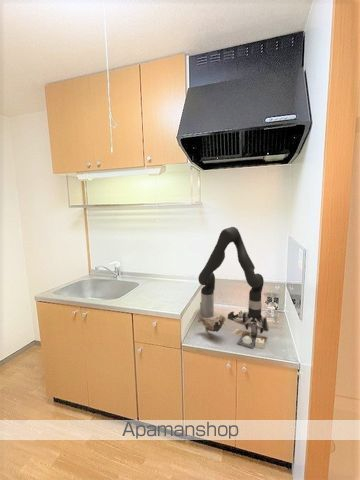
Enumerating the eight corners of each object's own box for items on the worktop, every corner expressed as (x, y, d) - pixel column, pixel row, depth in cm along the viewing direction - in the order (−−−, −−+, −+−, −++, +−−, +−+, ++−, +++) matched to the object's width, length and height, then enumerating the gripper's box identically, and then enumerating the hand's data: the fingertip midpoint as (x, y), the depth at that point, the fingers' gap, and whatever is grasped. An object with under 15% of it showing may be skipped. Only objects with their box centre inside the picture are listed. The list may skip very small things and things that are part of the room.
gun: (268, 332, 153) (259, 310, 155) (232, 334, 171) (225, 314, 172) (270, 329, 157) (262, 307, 159) (235, 331, 175) (228, 311, 176)
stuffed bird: (225, 346, 142) (225, 319, 139) (193, 339, 150) (193, 313, 147) (229, 337, 151) (229, 312, 148) (199, 330, 159) (199, 306, 156)
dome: (241, 344, 143) (241, 337, 142) (244, 340, 147) (244, 332, 146) (250, 347, 140) (250, 339, 139) (253, 343, 144) (253, 335, 143)
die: (255, 348, 139) (255, 341, 138) (256, 344, 143) (256, 337, 142) (263, 350, 137) (263, 343, 137) (264, 346, 141) (264, 338, 141)
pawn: (250, 336, 149) (250, 323, 148) (252, 333, 152) (252, 320, 151) (255, 338, 147) (256, 325, 146) (257, 335, 150) (258, 322, 149)
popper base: (237, 346, 142) (237, 342, 142) (242, 338, 149) (242, 335, 149) (252, 350, 137) (252, 347, 137) (256, 342, 145) (256, 339, 144)
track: (233, 334, 154) (233, 332, 154) (236, 329, 159) (236, 328, 159) (265, 343, 144) (265, 342, 143) (267, 338, 148) (267, 337, 148)
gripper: (241, 306, 147) (240, 330, 150) (265, 311, 140) (264, 337, 142) (245, 301, 153) (244, 325, 156) (268, 306, 146) (267, 331, 149)
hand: (254, 330), depth 149 cm, fingers open, 8 cm apart
